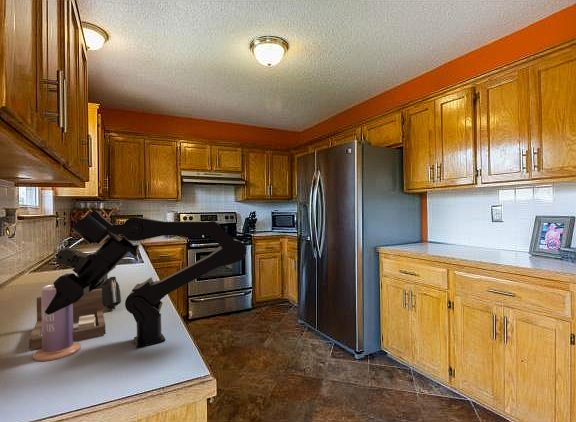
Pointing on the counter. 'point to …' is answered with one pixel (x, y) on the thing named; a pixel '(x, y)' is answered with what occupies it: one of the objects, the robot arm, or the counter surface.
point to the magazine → (110, 293)
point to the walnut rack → (75, 319)
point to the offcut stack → (86, 321)
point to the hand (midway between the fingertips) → (56, 307)
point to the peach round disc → (48, 357)
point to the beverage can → (55, 324)
